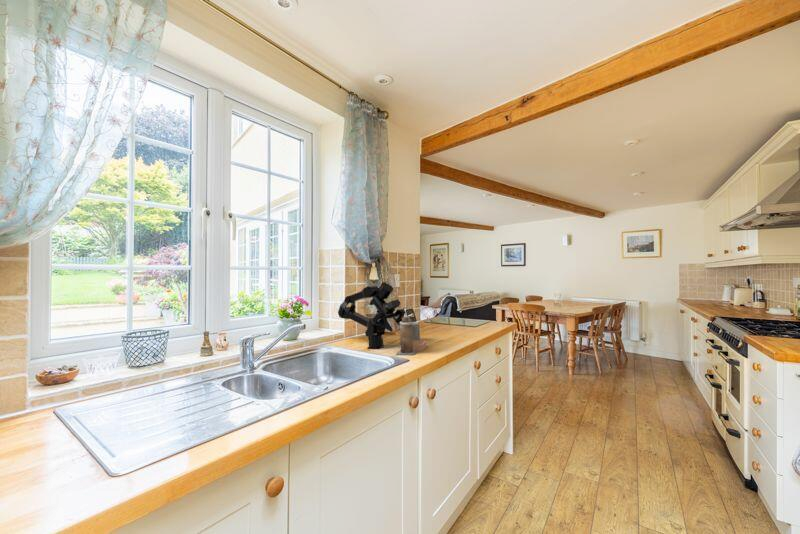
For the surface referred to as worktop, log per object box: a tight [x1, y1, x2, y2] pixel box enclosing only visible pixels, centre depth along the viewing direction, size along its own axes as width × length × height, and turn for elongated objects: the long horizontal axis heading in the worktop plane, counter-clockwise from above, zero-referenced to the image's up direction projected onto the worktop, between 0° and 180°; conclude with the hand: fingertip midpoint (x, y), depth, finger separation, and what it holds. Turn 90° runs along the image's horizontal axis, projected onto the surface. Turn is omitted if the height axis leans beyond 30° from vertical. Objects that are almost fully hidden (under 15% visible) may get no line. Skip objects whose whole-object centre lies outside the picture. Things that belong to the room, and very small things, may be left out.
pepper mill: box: [399, 316, 413, 353], centre depth 158 cm, size 6×6×16 cm
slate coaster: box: [396, 349, 418, 356], centre depth 157 cm, size 8×8×1 cm
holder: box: [412, 340, 428, 352], centre depth 166 cm, size 9×9×3 cm
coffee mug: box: [411, 321, 421, 341], centre depth 184 cm, size 13×10×10 cm
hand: (398, 329), depth 161 cm, fingers open, 9 cm apart
